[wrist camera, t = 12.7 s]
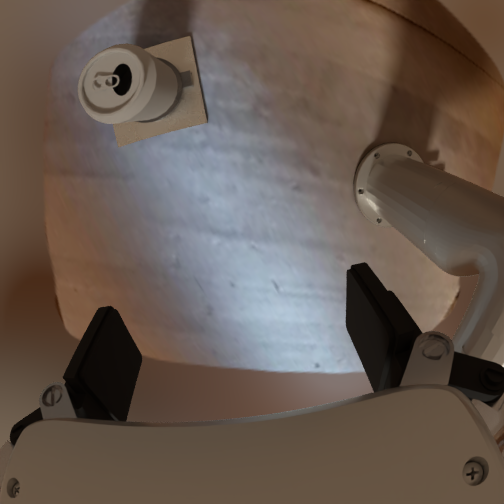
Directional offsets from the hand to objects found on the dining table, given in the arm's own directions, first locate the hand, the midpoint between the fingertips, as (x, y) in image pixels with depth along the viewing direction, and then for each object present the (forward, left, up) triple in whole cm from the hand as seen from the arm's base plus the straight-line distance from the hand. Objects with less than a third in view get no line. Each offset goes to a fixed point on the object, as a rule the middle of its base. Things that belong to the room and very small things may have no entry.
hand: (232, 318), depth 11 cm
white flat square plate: (+8, -13, -28) cm, 32 cm away
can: (+8, -13, -26) cm, 30 cm away
